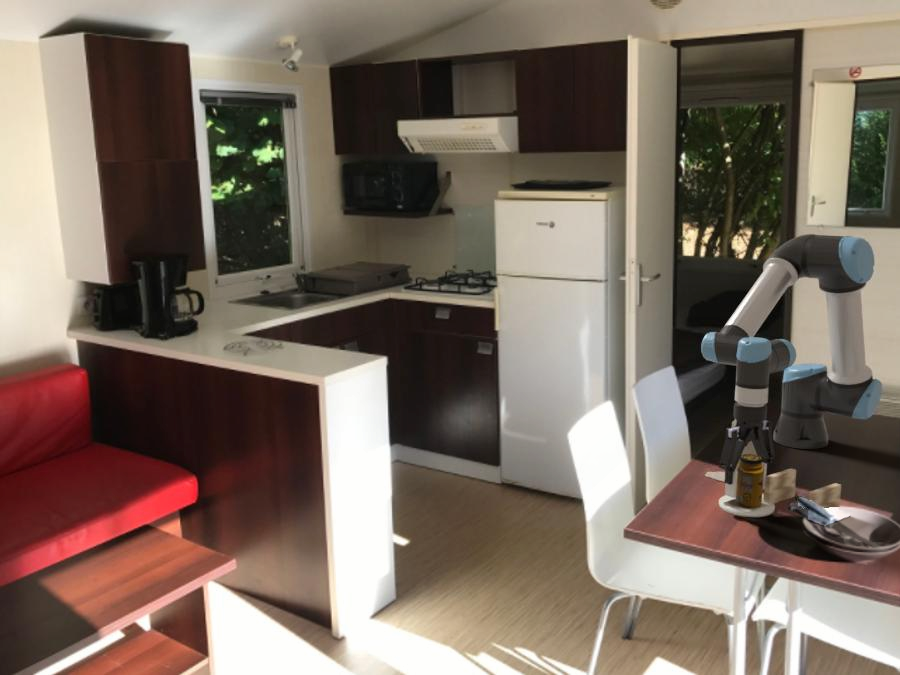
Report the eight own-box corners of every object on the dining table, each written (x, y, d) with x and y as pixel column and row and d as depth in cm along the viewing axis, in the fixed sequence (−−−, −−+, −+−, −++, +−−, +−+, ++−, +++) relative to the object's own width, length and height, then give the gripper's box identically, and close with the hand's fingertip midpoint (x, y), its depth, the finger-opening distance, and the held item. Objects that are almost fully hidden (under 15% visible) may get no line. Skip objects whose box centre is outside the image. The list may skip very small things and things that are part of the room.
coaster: (742, 492, 232) (742, 489, 231) (786, 509, 221) (786, 506, 221) (707, 504, 225) (707, 501, 225) (750, 521, 214) (750, 518, 214)
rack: (779, 491, 232) (781, 464, 231) (850, 516, 216) (852, 488, 214) (753, 499, 227) (754, 472, 226) (824, 526, 211) (826, 497, 209)
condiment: (769, 504, 222) (772, 457, 219) (747, 513, 217) (750, 465, 214) (743, 496, 227) (746, 450, 225) (722, 504, 222) (724, 457, 220)
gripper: (768, 392, 226) (763, 478, 231) (705, 406, 214) (701, 496, 219) (794, 399, 220) (788, 487, 224) (731, 413, 208) (725, 506, 213)
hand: (745, 491), depth 222 cm, fingers open, 10 cm apart
